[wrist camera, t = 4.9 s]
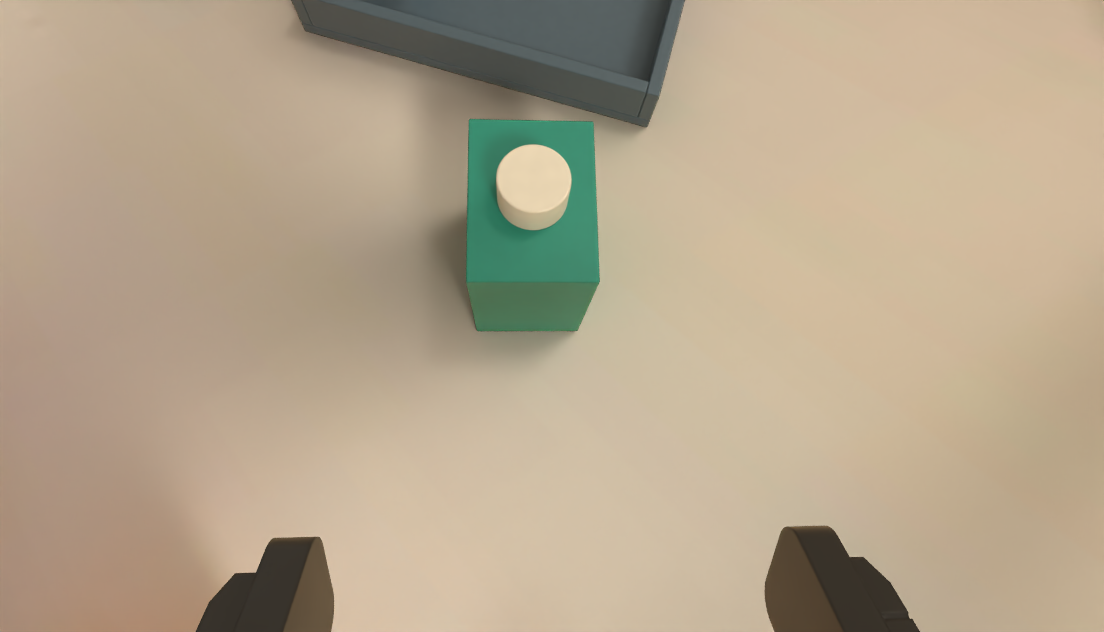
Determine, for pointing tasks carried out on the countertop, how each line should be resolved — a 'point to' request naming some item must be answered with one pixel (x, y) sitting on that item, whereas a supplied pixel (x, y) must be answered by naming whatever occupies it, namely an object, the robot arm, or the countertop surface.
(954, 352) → the countertop surface
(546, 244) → the detergent bottle
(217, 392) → the countertop surface
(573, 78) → the drip tray
